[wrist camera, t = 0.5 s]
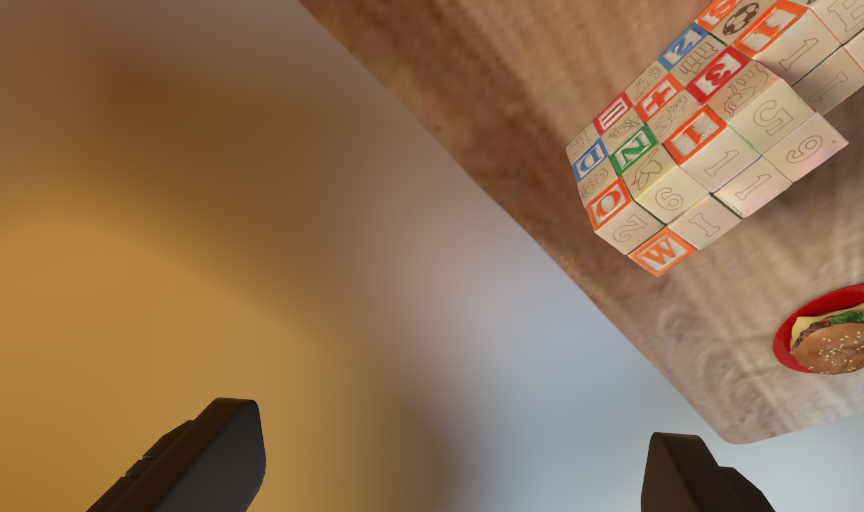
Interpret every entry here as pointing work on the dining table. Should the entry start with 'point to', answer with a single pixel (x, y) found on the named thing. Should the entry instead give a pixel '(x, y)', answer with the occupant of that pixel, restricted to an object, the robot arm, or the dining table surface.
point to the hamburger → (825, 334)
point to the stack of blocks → (719, 125)
